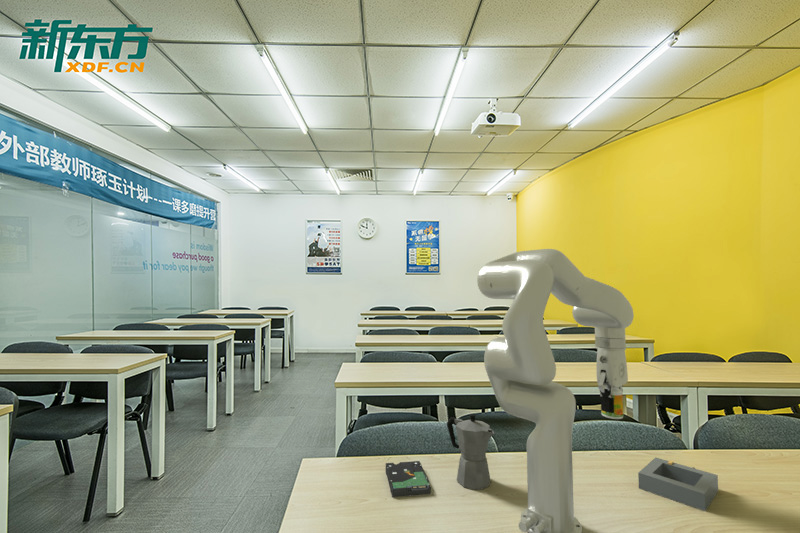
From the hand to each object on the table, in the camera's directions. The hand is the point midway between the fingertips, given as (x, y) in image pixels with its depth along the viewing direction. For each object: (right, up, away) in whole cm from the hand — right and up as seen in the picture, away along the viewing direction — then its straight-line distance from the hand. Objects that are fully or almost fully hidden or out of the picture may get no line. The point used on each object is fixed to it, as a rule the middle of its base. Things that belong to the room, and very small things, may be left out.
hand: (612, 408), depth 107 cm
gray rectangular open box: (+17, -19, -3) cm, 26 cm away
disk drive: (-57, -20, -2) cm, 61 cm away
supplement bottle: (0, -2, 0) cm, 2 cm away
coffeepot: (-40, -20, -1) cm, 44 cm away
